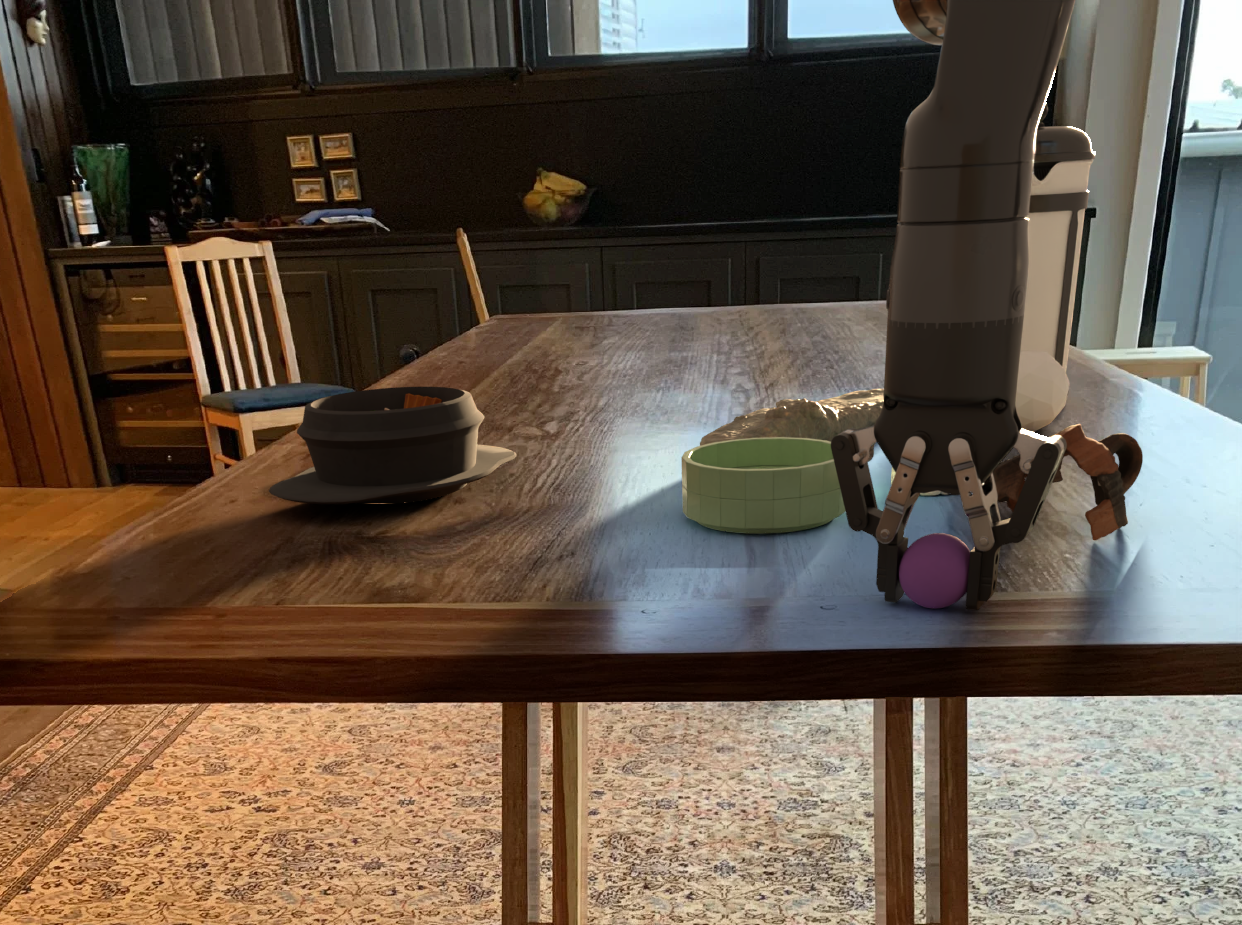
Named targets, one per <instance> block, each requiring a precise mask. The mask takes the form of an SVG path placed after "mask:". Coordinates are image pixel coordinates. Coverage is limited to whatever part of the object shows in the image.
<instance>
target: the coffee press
mask: <svg viewBox="0 0 1242 925" xmlns="http://www.w3.org/2000/svg"><path fill="white" fill-rule="evenodd" d="M1048 112H1049V107H1048V104H1047V102H1045V104H1044V107H1043V110H1042V113H1041V116H1040V119H1039V122H1038V125H1037V129H1036V136H1035V153H1034V161H1033V174H1032V184H1031V195H1030V205H1029V215H1028V216H1027V217H1025V218H1028V219H1029V220H1028V247H1029V266H1028V279H1027V289H1026V300H1025V310H1024V320H1023V330H1022V340H1021V350H1020V352H1022V351H1036V352H1048V353H1049V354H1050V355H1051V356H1052V357H1053V358H1054V359H1055V360H1056V361H1057V362H1058V363H1059V364H1060V365H1061V366H1062V367H1063V368H1064V370H1065V372H1066V373H1067V367H1068V359H1069V352H1070V343H1071V334H1072V325H1073V318H1074V317H1073V316H1074V310H1075V299H1076V291H1077V284H1078V283H1077V282H1078V275H1079V274H1078V273H1079V266H1080V257H1081V246H1082V238H1083V229H1084V220H1085V214H1086V212H1085V211H1086V210H1087V209H1088V205H1089V196H1090V190H1088V187H1089V186H1088V185H1089V176H1090V169H1091V165H1092V164H1093V162H1094V160H1095V158H1096V151H1093V149H1092V142H1091V138H1090V137H1089V136H1088V134H1087V133H1086V132H1084V131H1083V130H1082V129H1080V128H1078V127H1077V128H1076V127H1073V126H1063V125H1061V126H1058V125H1057V126H1056V125H1055V126H1045V123H1044V122H1043V121H1044V119H1045V118H1046V116H1047V115H1048ZM1067 396H1069V393H1068V394H1067Z"/></svg>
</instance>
